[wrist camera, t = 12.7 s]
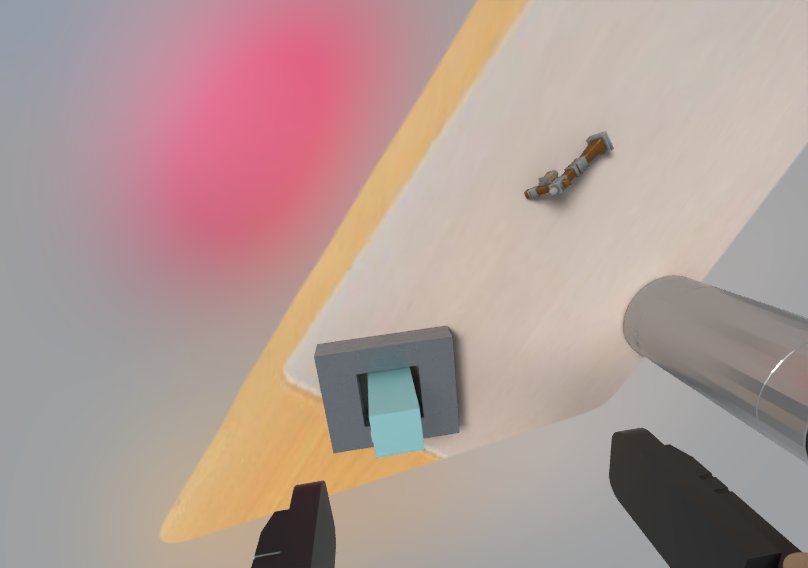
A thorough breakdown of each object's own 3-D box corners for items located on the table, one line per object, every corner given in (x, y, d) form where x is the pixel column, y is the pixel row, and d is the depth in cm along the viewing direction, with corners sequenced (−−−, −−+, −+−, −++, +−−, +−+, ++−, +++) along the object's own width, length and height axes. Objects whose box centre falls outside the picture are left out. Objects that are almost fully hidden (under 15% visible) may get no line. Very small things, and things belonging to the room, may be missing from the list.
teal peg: (408, 360, 38) (419, 408, 31) (412, 395, 40) (424, 449, 32) (367, 367, 38) (368, 416, 30) (373, 402, 39) (376, 458, 32)
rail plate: (446, 325, 38) (452, 336, 35) (453, 417, 41) (459, 433, 38) (317, 344, 37) (313, 357, 34) (335, 436, 40) (333, 454, 38)
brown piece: (514, 193, 34) (554, 182, 30) (564, 146, 36) (607, 129, 32) (524, 209, 34) (564, 201, 30) (573, 162, 37) (616, 148, 33)
